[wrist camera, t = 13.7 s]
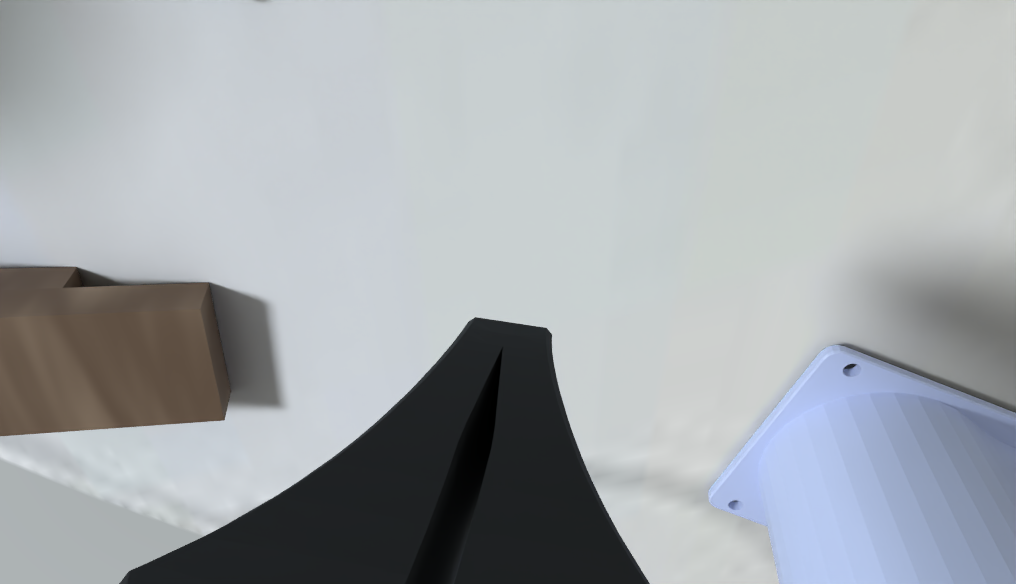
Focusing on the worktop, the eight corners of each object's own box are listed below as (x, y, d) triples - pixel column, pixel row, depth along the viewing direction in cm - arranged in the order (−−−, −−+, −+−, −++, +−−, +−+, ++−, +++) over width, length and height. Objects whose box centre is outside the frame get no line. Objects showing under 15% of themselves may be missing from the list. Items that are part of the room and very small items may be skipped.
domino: (200, 309, 23) (-78, 321, 21) (224, 420, 25) (-20, 437, 24) (209, 282, 24) (-53, 292, 22) (230, 391, 27) (-1, 405, 25)
